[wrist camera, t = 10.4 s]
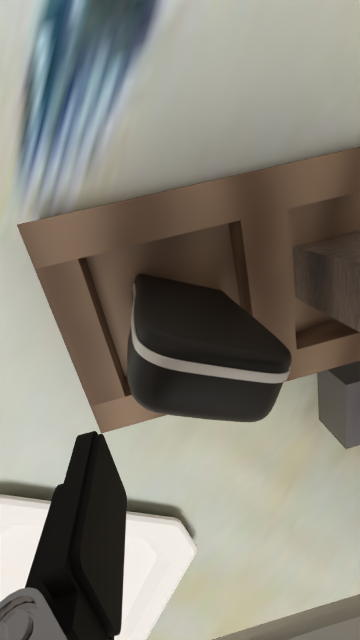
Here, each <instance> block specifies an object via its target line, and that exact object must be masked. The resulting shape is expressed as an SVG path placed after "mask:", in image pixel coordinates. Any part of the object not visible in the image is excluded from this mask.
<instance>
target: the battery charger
mask: <svg viewBox="0 0 360 640" xmlns="http://www.w3.org/2000/svg"><path fill="white" fill-rule="evenodd" d="M132 305H133V306H132V314H131V328H130V333H129V338H128V347H127V375H128V383H129V387H130V390H131V394H132V396H133V397H134V399H135V400H136V401H137V403H139V404H140V405H141V406H142V407H144V408H145V409H147V410H149V411H152V412H155V413H160V414H166V415H175V416H183V417H192V418H201V419H211V420H223V421H235V422H255V421H259V420H262V419H263V418H264V417H266V416H267V415H268V414H269V412H270V411H271V409H272V407H273V406H274V404H275V402H276V399H277V397H278V394H279V392H280V389H281V387H282V384H283V382H284V381H286V380H287V378H288V375H289V373H290V370H291V367H290V364H291V361H292V357H291V353H290V351H289V349H288V348H287V347H286V346H285V345H284V344H283V343H282V342H281V341H280V340H279V339H278V338H277V337H276V336H275V335H274V334H272V333H271V332H270V331H269V330H268V329H267V328H266V327H265V326H264V325H262V324H261V323H260V322H259V321H258V320H256V319H255V318H254V317H253V316H252V315H250V314H249V313H248V312H247V311H245V310H244V309H243V308H242V307H240V306H239V305H238V304H237V303H235V302H234V301H233V300H232V299H231V298H230V297H229V296H228V295H226V294H225V293H224V292H223V291H221V290H217V289H213V288H208V287H203V286H199V285H194V284H189V283H184V282H180V281H175V280H170V279H165V278H160V277H155V276H150V275H145V274H138V275H137V276H136V279H135V282H134V283H133V295H132Z"/></svg>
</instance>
